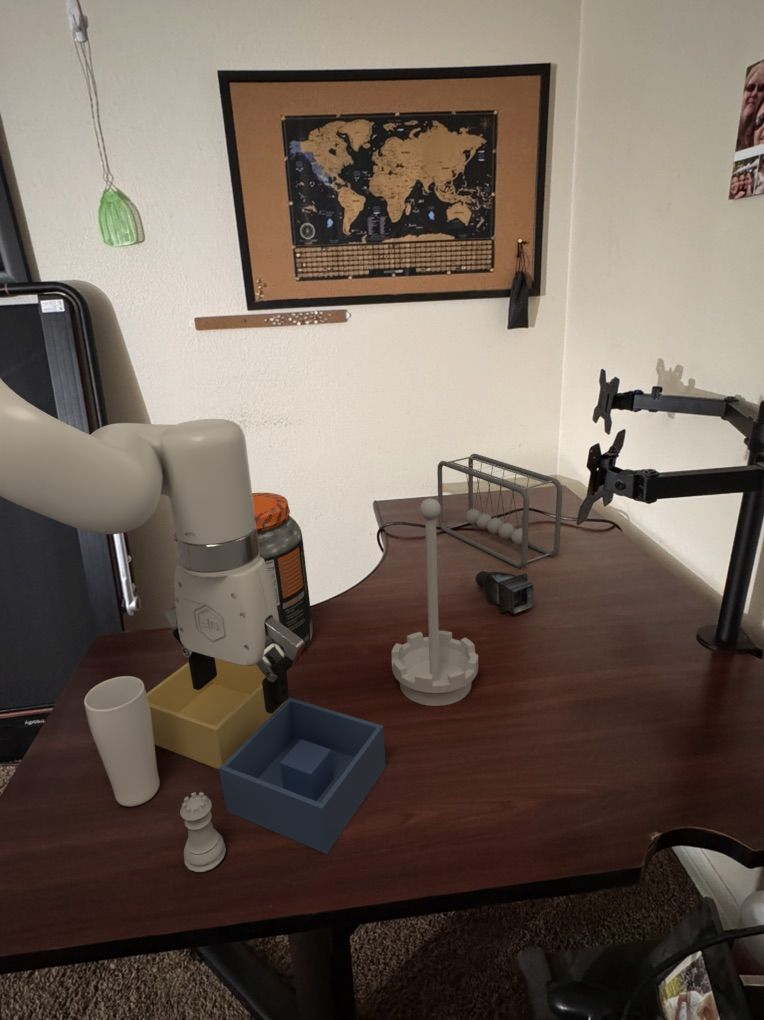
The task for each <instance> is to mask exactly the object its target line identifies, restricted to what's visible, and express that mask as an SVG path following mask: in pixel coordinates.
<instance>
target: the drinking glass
mask: <svg viewBox="0 0 764 1020" xmlns="http://www.w3.org/2000/svg"><path fill="white" fill-rule="evenodd" d="M147 693H148V692H147V690H146V687H145V683H144V682H143V680H142V679H141V678H139V677H136V676H131V675H122V676H116V677H112V678H109V679H106V680H103V681H102V682H100V683H98V684H96V685H95V686H94V687H92V688H91V689H90V690H89V691H88V692H87V693H86V695H85V697H84V700H83V705H84V709H85V714H86V719H87V724H88V727H89V730H90V733H91V736H92V739H93V742H94V744H95V747H96V748H97V751H98V754H99V757H100V759H101V762H102V764H103V767H104V769H105V772H106V775H107V777H108V780H109V783H110V785H111V788H112V791H113V795H114V796H113V797H114V799H115V800H116V803H118V804H119V805H121V806H123V807H136V806H141V805H143V804H145V803H147V802H148V801H150V800H151V799H152V798H154V796H155V795H156V794H157V793H158V791H159V789H160V785H161V784H160V783H161V782H160V781H161V780H160V775H159V772H158V763H157V755H156V754H157V753H156V745H155V744H154V736H153V727H152V718H151V711H150V706H149V701H148V697H147Z"/></svg>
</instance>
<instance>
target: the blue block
mask: <svg viewBox="0 0 764 1020" xmlns="http://www.w3.org/2000/svg"><path fill="white" fill-rule="evenodd" d="M280 769H281V776H282V783H283V789H286V790H288V791H291V792H294V793H296V794H299V795H301V796H304V797H307V798H309V799H312V800H314V801H317V800H318V798H319V797H320V796H321V794H322V793H323V792H324V790H325V789H326V788H327V786H328V785H329V784H330V783H331V781H332V780H333V779H334V775H333V765H332V755H331V749H328V748H325V747H322V746H319V745H316V744H313V743H310V742H307V741H304V740H301V739H300V741H299V742H298V743H297V744H296V745H295V746H294V747H293V748H292V750H291V751H290V752H289V753H288V754H287V755H286V756H285V757H284V759H283V760H282V761H281V762H280Z"/></svg>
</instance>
